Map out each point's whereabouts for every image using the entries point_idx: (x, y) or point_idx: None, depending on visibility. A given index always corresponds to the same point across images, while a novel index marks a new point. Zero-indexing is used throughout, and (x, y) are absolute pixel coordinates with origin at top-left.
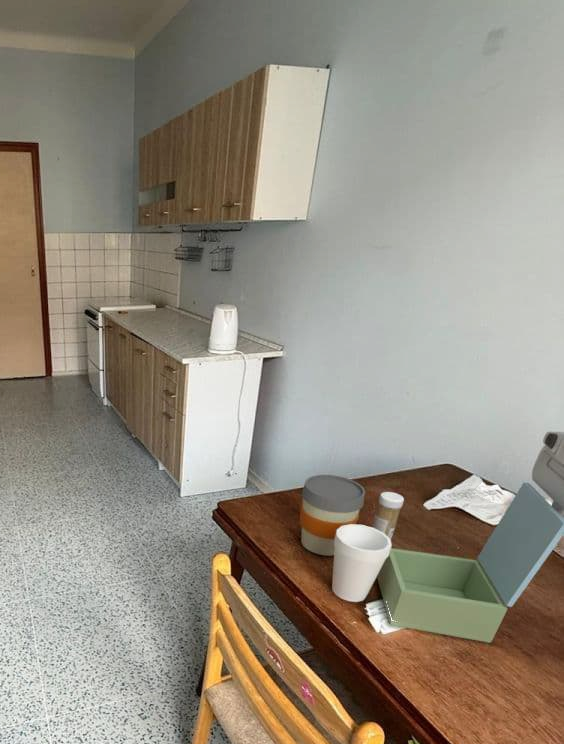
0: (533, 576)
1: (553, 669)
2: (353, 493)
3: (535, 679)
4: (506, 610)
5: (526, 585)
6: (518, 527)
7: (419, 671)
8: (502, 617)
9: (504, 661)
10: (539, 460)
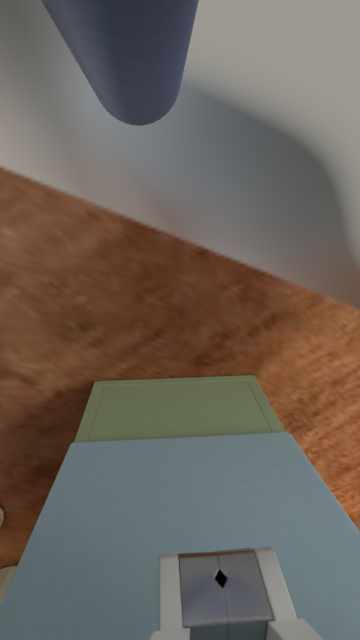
0: (344, 511)
1: (304, 289)
2: None
3: (335, 330)
4: (283, 429)
5: (323, 483)
6: None
7: (342, 485)
8: (276, 416)
9: (298, 365)
10: None
